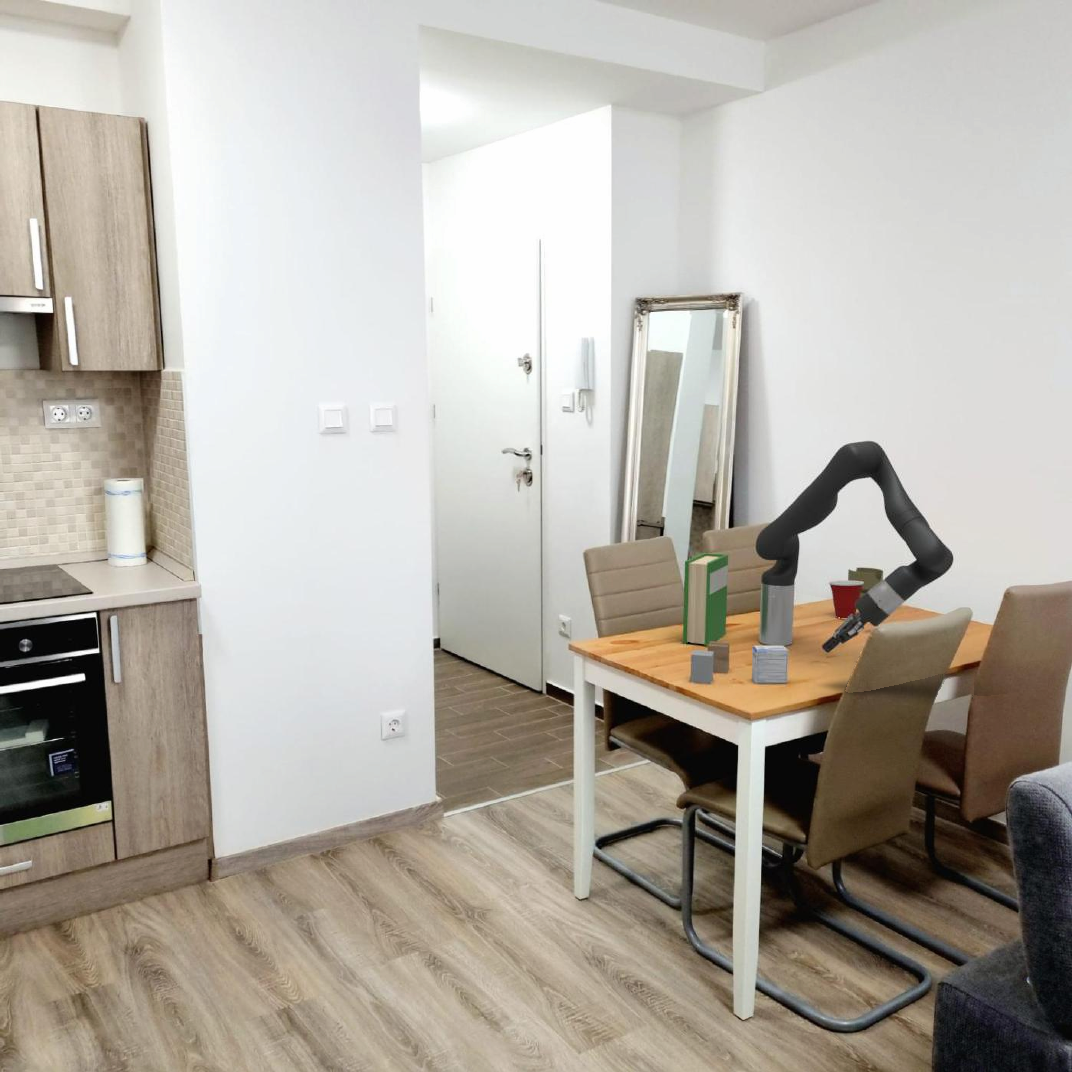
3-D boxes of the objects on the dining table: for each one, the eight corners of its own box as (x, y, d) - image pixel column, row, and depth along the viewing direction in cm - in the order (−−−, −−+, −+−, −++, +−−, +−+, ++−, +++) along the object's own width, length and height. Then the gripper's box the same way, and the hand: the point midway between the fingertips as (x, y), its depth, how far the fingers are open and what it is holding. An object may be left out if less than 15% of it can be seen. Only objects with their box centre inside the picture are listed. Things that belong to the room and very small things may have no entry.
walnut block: (709, 667, 267) (710, 641, 266) (728, 668, 266) (729, 642, 265) (707, 672, 262) (708, 645, 261) (727, 673, 261) (727, 646, 260)
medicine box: (782, 679, 256) (783, 645, 255) (787, 684, 252) (788, 649, 251) (751, 679, 256) (752, 645, 255) (755, 684, 251) (756, 649, 250)
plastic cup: (843, 613, 337) (845, 577, 336) (869, 619, 328) (871, 582, 327) (819, 616, 332) (821, 579, 330) (845, 622, 323) (847, 585, 321)
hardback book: (708, 647, 289) (710, 563, 286) (682, 644, 292) (685, 561, 289) (725, 634, 304) (728, 554, 301) (701, 632, 308) (703, 553, 305)
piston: (842, 569, 351) (858, 566, 358) (840, 604, 352) (857, 600, 360) (873, 574, 343) (889, 570, 350) (871, 609, 344) (887, 604, 352)
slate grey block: (692, 677, 257) (693, 650, 256) (712, 678, 256) (713, 651, 255) (690, 682, 252) (691, 654, 252) (710, 684, 251) (711, 656, 250)
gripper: (867, 586, 251) (813, 632, 256) (870, 595, 239) (813, 644, 243) (889, 609, 251) (834, 654, 255) (893, 619, 238) (835, 667, 243)
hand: (824, 649), depth 249 cm, fingers closed
